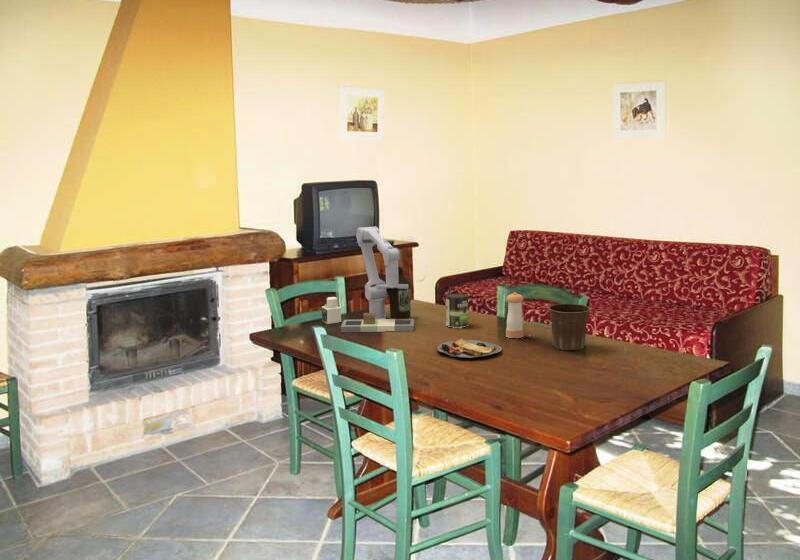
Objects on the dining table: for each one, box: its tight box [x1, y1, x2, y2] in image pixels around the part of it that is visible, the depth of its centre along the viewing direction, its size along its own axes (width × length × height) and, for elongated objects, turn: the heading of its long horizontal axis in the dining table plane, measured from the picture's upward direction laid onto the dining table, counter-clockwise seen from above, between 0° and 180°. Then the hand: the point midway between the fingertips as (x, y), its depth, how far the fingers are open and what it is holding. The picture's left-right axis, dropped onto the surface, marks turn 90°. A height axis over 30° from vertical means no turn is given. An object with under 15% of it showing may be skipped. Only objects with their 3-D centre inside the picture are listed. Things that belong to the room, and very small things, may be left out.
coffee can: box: [445, 292, 469, 329], centre depth 338 cm, size 10×10×14 cm
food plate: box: [435, 337, 502, 359], centre depth 295 cm, size 25×23×4 cm
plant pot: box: [547, 303, 591, 351], centre depth 298 cm, size 16×16×16 cm
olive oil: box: [388, 265, 412, 319], centre depth 355 cm, size 11×11×25 cm
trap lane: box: [340, 318, 415, 333], centre depth 338 cm, size 14×32×2 cm, turn 89°
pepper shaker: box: [505, 291, 524, 339], centre depth 316 cm, size 7×7×19 cm
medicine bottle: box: [321, 295, 342, 325], centre depth 352 cm, size 7×7×12 cm
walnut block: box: [362, 312, 375, 324], centre depth 338 cm, size 5×5×4 cm
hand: (392, 304), depth 342 cm, fingers closed
